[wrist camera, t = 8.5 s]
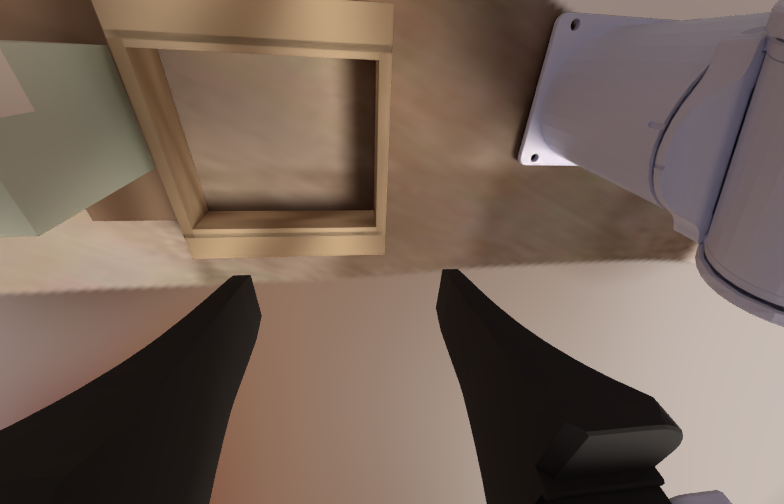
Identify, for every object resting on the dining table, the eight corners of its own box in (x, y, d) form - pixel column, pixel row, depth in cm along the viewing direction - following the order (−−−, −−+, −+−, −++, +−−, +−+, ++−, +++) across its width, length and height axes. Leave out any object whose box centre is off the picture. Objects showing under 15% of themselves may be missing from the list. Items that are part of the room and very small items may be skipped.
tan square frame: (388, 10, 15) (393, 3, 13) (381, 235, 22) (384, 254, 20) (124, -9, 14) (83, -19, 12) (208, 238, 21) (192, 258, 19)
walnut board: (110, -21, 13) (105, -23, 13) (194, 217, 20) (193, 220, 20) (-44, -33, 13) (-52, -34, 13) (96, 218, 19) (92, 220, 19)
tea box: (108, 45, 14) (-98, 39, 8) (156, 167, 18) (40, 236, 11) (12, 40, 14) (-293, 30, 7) (80, 166, 17) (-89, 237, 11)
